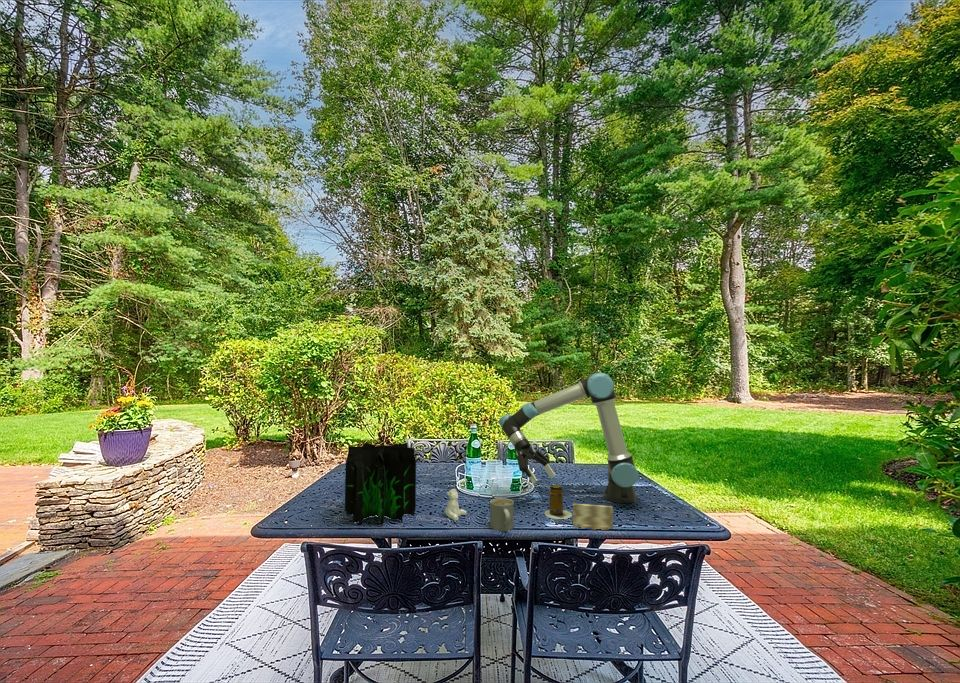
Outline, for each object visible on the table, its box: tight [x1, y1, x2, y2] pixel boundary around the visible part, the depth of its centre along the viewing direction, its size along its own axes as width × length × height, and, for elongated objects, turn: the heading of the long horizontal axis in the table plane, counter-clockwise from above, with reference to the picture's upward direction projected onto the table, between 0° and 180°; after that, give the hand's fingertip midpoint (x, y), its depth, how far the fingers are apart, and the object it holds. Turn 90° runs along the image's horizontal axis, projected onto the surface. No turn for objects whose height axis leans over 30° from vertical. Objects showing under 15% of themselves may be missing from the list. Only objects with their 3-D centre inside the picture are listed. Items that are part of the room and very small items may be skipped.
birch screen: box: [572, 503, 614, 531], centre depth 181 cm, size 16×4×9 cm, turn 78°
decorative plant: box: [344, 441, 417, 525], centre depth 196 cm, size 29×30×30 cm
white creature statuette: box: [444, 488, 467, 522], centre depth 193 cm, size 10×9×12 cm
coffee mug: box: [489, 497, 515, 532], centre depth 180 cm, size 13×10×10 cm
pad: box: [544, 509, 573, 520], centre depth 195 cm, size 12×12×1 cm
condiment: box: [547, 484, 569, 517], centre depth 195 cm, size 7×8×12 cm
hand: (544, 479), depth 201 cm, fingers open, 13 cm apart
